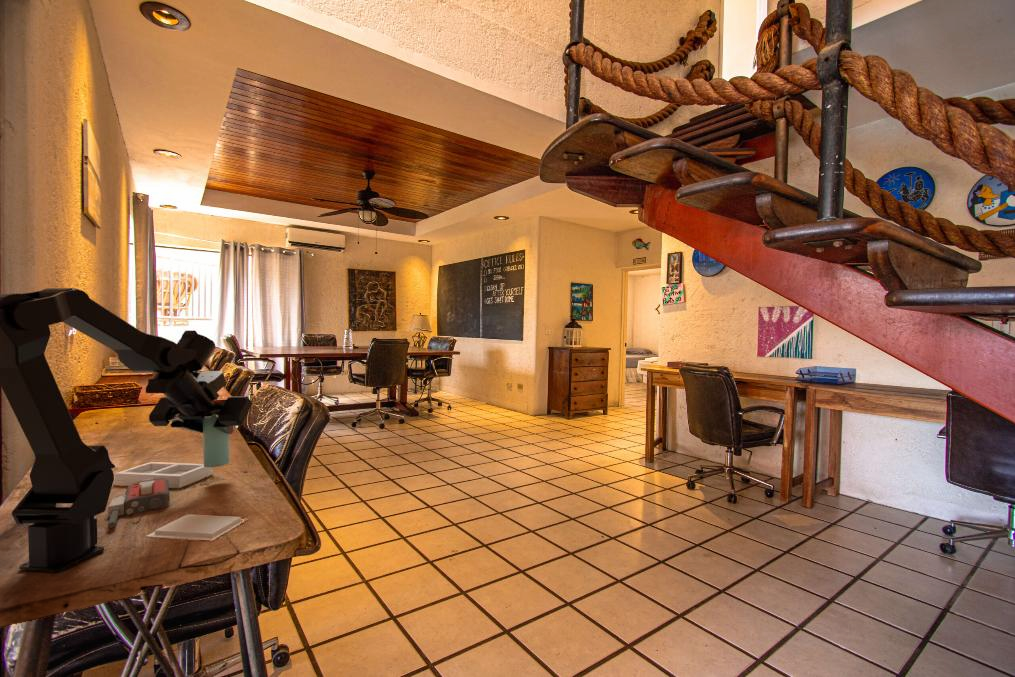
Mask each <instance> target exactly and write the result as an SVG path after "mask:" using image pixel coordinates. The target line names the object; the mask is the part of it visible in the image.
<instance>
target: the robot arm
mask: <svg viewBox="0 0 1015 677" xmlns="http://www.w3.org/2000/svg"><path fill="white" fill-rule="evenodd" d="M59 323H64V324H65V325H67V326H69V327H70V328H73V329H74V330H77V331H78V332H80V333H81V334H84V335H85V336H87V337H89V338H91V339H93V341H94V340H95V341H97V342H98V343H99V344H102V345H103V346H105V347H107V348H109V349H111V350H112V351H114V353H115V354H116V355H117V359H118V361H119V362H120V363H121V364H123V365H124V366H125V367H126V368H128V369H129V370H130V371H132V372H134V373H141V374H142V373H154V374H153V376H152V377H151V378H149V379H148V380H147V385H146V386H145V394H163V397H160V398H159V400H158V402H157V403H156V404H155V406H154V407H153V409H152V410H151V411H150V413H149V415H148V421H149V422H150V423H151V425H153V426H154V427H167V426H168V425H169V424H170V427H171V428H175V429H181V430H186V431H191V432H195V433H199V434H202V435H203V419H204V417H212V416H213V414H215V416H216V417H217V420H216V422H215V424H214V425H213V427H214V428H216V429H219V430H221V431H223V432H225V433H227V434H229V435H233V432H234V427H239V426H241V425H243V423H244V421H245V419H246V417H247V416H248V414H249V412H250V409H251V408H252V406H253V402H252V401H251V400H250V398H249V396H248V395H247V396H243V395H242V396H238V395H237V396H228V397H227V399H224V400H221V401H220V402H215V401H216V400H218V399H219V396H220V394H219V393H218V392H219V391H221V390H222V389H223V388H224V387H226V386H227V384H228V383H227V379H226V377H225V374H224V372H223V370H210V371H209V370H205V371H202V369H203V368H204V366H205V365H206V364H207V362H208V360H209V359H210V357H211V356H212V354H213V353H214V351H215V350H216V347H217V346H216V344H215V342H214V340H212V339H211V338H208V336H206V335H202V334H199V333H198V332H197V331H196V330H184V332H183V333H182V335H181V337H180V339H179V340H178V341H177V343H176V342H174V341H173V340H170V339H167V338H165V337H163V336H159V335H154V334H150V333H146V332H144V331H141V330H140V329H138V328H137V327H135V326H133V325H132V324H130V323H129V322H128V321H126V320H125V319H122V318H121V317H120V316H118V315H117V314H115V313H114V312H112V311H110V310H109V309H107V308H106V307H104V306H102V305H101V304H99V303H98V302H96V301H95V300H93V299H92V298H90V296H89V295H88V293H87V292H86V291H84V290H81V289H79V288H75V287H53V288H52V287H49V288H44V289H42V290H36V291H31V292H23V293H22V292H21V293H17V292H16V293H0V387H1V390H2V391H3V394H4V395H5V397H6V399H7V402H8V404H9V405H10V408H11V409H12V411H13V414H14V416H15V417H16V420H17V421H18V423H19V426H20V427H21V429H22V432H23V433H24V436H25V437H26V440H27V442H28V444H29V446H30V448H31V450H32V452H33V454H34V461H33V464H32V467H31V469H30V472H29V479H30V484H31V487H30V489H29V490H28V491H27V492H26V494H25V495H24V496H23V498H22V499H21V500H20V501H19V502H18V504H17V505H16V506H15V508H14V509H13V510H12V511H11V515H12V518H13V520H14V521H15V523H16V524H17V525H23V524H30V525H28V526H27V538H28V539H27V540H28V541H27V544H28V547H27V548H28V561H27V562H24V563H21V564H20V565H19V568H18V569H19V570H20V569H22V571H31V572H32V571H34V572H46V573H58V572H61V571H63V570H65V569H67V568H70V567H72V566H74V565H76V564H78V563H80V562H82V561H84V560H87V559H88V558H91V557H93V556H95V555H97V554H100V553H101V552H104V551H105V546H101V545H99V546H98V518H96V517H95V516H99V515H100V514H103V513H104V512H105V511H106V510H107V507H108V502H109V499H110V498H109V497H110V494H111V491H112V488H113V486H114V485H113V481H114V480H115V473H114V471H113V469H115V468H116V465H115V464H114V463H113V461H111V459H110V455H109V450H108V449H107V447H106V446H105V445H88V444H86V443H84V441H83V440H82V438H81V436H80V434H79V431H78V429H77V427H76V425H75V422H74V420H73V418H72V415H71V413H70V411H69V408H68V405H67V404H66V401H65V399H64V397H63V395H62V392H61V390H60V387H59V386H58V383H57V381H56V378H55V376H54V374H53V372H52V370H51V367H50V365H49V362H48V361H47V358H46V355H45V352H46V349H47V347H48V343H49V341H50V338H51V329H50V326H51V325H55V324H56V325H57V324H59ZM170 422H171V423H170ZM58 504H66V505H67V504H69V505H70V504H71V505H70V506H57V505H58Z"/></svg>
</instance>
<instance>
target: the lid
mask: <svg viewBox="0 0 1015 677" xmlns="http://www.w3.org/2000/svg"><path fill="white" fill-rule="evenodd" d="M241 518H242V516H229V515H226V516H225V515H210V514H209V515H208V514H190V513H187V514H184V515H183V516H181V517H179V518H177V519H175V520H173V521H171V522H169V523H167V524H165V525H163V526H161V527H159V528H157V529H154V531H153V532H151V533H149V534H146V536H145V538H152V539H170V540H171V539H172V540H186V539H187V541H188V540H189V541H199V540H210V541H209V542H214V541H216V540H217V539H216V538H218V537H219V538H221V537H222V536H221V535H223V534H224V533H226V532H228V531H229V532H231V531H232V530H231V529H233V528H234V529H236V528H237V527H236V526H238V525H239V526H241V525H242V524H241V523H243V522H244V519H245V518H244V519H241ZM241 520H243V521H242V522H241ZM244 523H245V522H244ZM244 523H243V524H244ZM240 524H241V525H240ZM239 526H238V527H239ZM235 527H236V528H235ZM234 529H233V530H234ZM230 530H231V531H230ZM229 532H228V533H229ZM226 534H227V533H226ZM224 535H225V534H224ZM224 535H223V536H224ZM220 536H221V537H220ZM219 538H218V539H219ZM215 539H216V540H215ZM213 540H214V541H213Z"/></svg>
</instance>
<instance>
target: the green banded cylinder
mask: <svg viewBox="0 0 1015 677" xmlns="http://www.w3.org/2000/svg"><path fill="white" fill-rule="evenodd" d="M216 420H217V417H216V416H215V414H213V416H212V417H204V419H203V434H202V443H203V444H202V449H203V450H202V452H203V459H202V460H203V464H204V467H211V468H215V467H217V468H219V467H222V466H226V465H228V464H230V462H231V461H230V459H231V457H230V434H227V433H225V432H223V431H221V430H219V429H216V428H214V427H213V425H214V424H215V422H216Z"/></svg>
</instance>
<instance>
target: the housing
mask: <svg viewBox="0 0 1015 677" xmlns="http://www.w3.org/2000/svg"><path fill="white" fill-rule="evenodd" d="M213 472H214V471H213V469H212V467H204V463H188V462H187V463H186V462H185V463H184V462H183V463H182V462H158V461H150V462H147V463H144V464H143V463H142V464H140V465H137V466H134V467H131V468H127V469H125V470H121V471H117V472H115V473H114V481H113V485H112V486H122V487H123V486H124V487H128V486H130V485H132V484H133V483H135V482H140V481H141V480H146V479H152V478H155V479H158V478H164V479H167V480H168V487H169V489H181V488H184V487H186V486H188V485H191V484H193V483H196V482H198V481H200V480H203V479H205V477H206V478H208V477H210V475H211V476H212V475H214V474H213Z"/></svg>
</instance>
